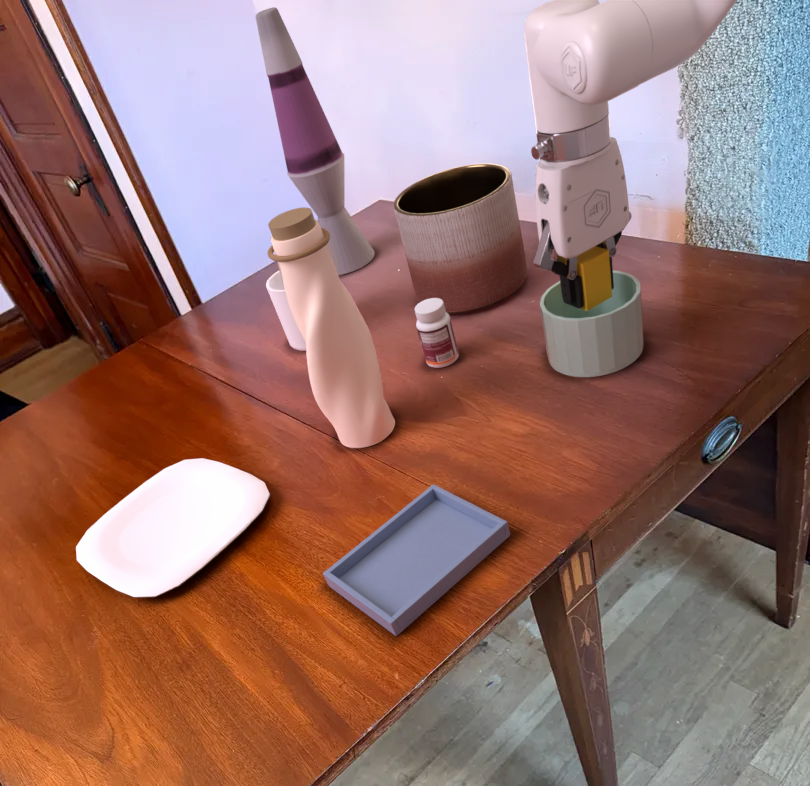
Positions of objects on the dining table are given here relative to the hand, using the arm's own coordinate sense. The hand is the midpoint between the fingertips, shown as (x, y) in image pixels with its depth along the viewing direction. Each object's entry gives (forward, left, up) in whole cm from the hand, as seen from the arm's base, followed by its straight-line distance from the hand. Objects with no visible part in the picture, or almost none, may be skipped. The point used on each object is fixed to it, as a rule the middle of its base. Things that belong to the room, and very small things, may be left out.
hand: (588, 294), depth 92 cm
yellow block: (0, 0, -1) cm, 1 cm away
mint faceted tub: (0, 0, -8) cm, 8 cm away
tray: (+16, +37, -8) cm, 41 cm away
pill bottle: (+21, -2, -8) cm, 22 cm away
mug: (+44, -15, -8) cm, 47 cm away
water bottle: (+29, +13, -8) cm, 33 cm away
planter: (+20, -22, -8) cm, 31 cm away
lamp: (+47, -40, -8) cm, 62 cm away
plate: (+49, +31, -8) cm, 59 cm away
